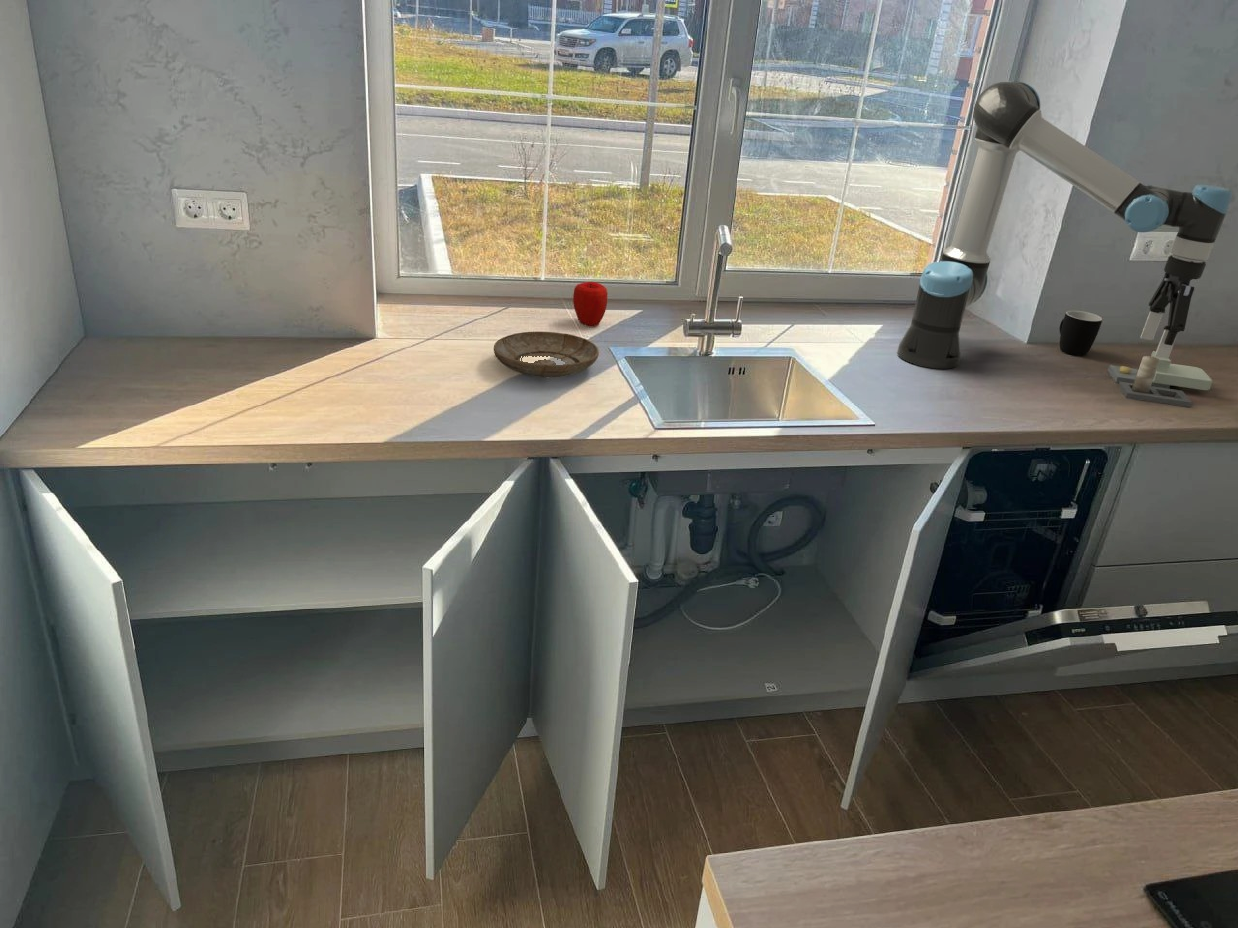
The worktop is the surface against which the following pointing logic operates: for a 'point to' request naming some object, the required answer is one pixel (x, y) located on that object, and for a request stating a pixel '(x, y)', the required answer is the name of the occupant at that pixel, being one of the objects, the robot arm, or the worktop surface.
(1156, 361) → the pin
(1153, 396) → the socket board
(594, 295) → the apple
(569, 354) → the brown round shallow bowl
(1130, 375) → the board
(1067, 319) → the mug
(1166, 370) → the cover
